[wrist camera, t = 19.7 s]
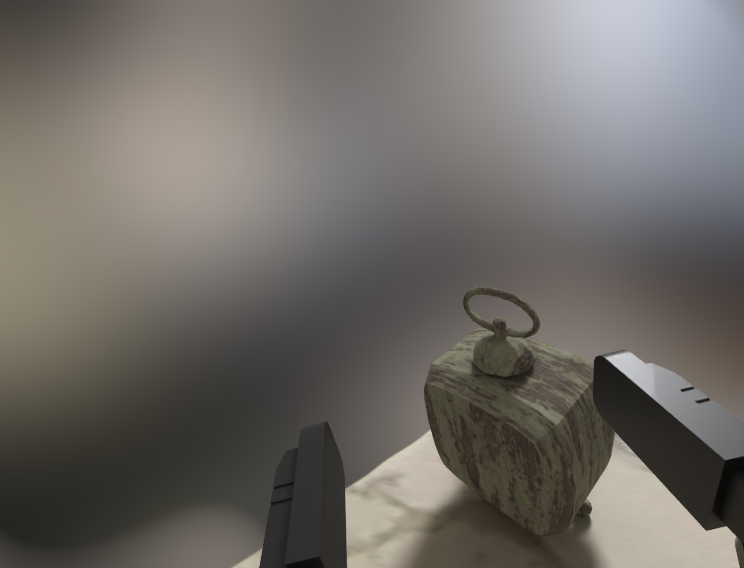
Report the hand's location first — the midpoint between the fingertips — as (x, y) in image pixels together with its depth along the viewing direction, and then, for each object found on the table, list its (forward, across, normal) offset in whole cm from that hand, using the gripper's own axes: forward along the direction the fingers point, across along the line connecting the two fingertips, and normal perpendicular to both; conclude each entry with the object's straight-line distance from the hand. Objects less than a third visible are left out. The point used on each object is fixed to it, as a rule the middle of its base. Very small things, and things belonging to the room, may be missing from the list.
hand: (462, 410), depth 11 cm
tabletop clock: (+16, -8, +31) cm, 36 cm away
